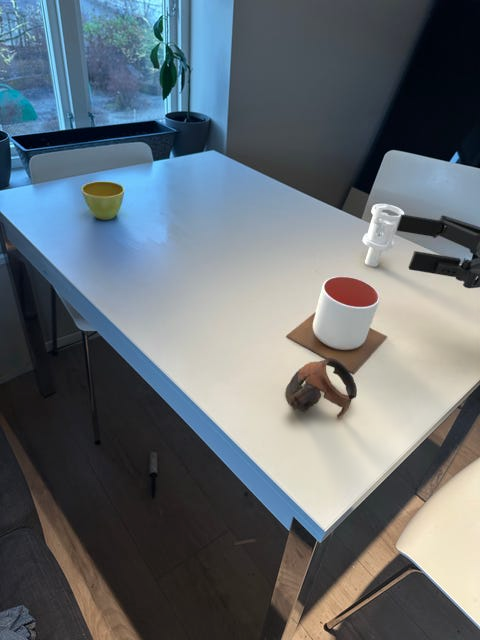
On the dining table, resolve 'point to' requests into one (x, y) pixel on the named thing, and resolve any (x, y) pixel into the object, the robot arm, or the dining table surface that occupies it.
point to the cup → (345, 312)
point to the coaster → (347, 357)
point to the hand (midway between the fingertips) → (404, 239)
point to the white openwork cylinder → (381, 232)
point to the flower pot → (103, 198)
